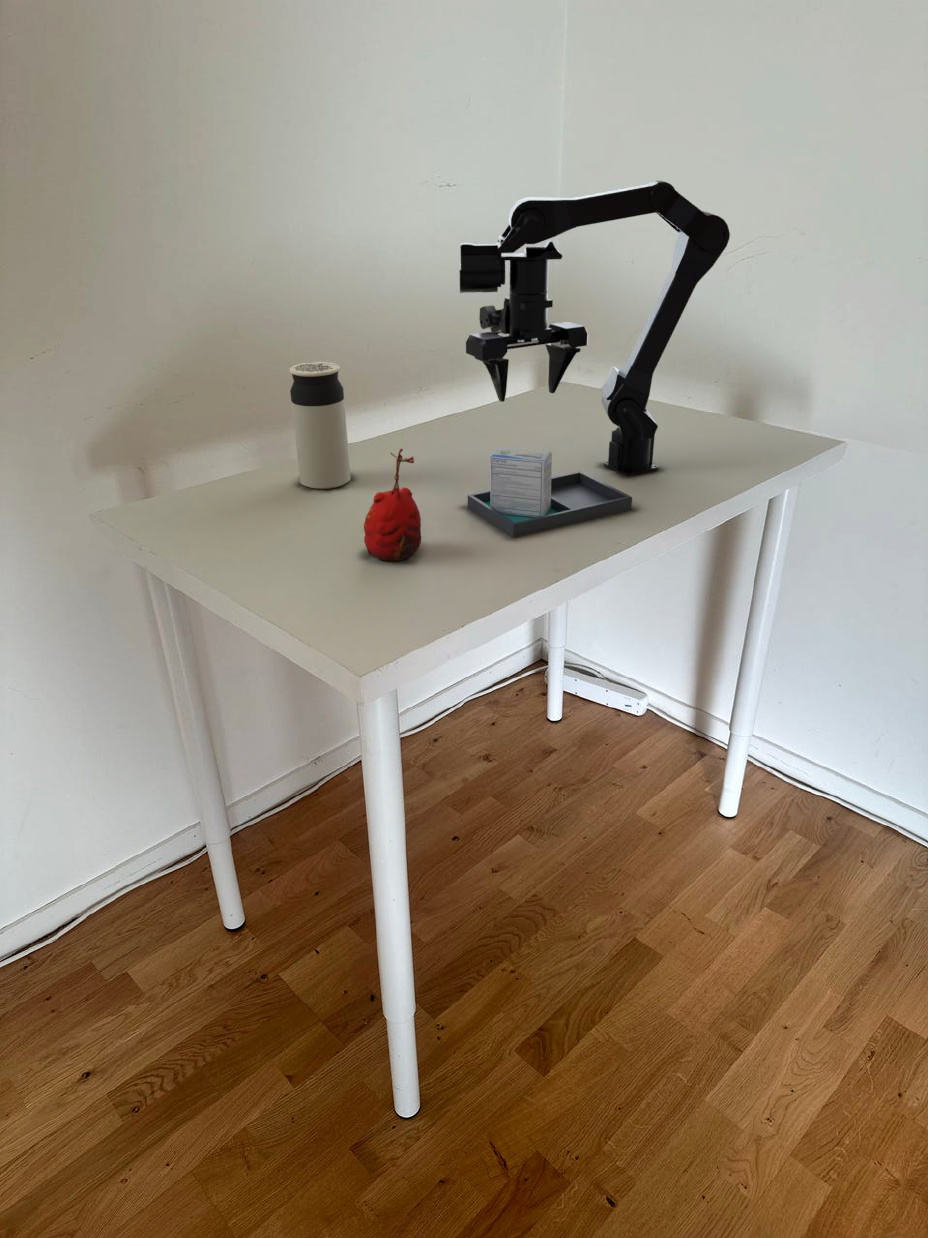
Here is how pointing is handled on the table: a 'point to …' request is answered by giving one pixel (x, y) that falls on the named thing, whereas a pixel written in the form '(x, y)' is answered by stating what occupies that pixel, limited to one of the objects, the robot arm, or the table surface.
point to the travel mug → (320, 425)
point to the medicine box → (521, 481)
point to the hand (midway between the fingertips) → (527, 396)
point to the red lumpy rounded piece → (393, 522)
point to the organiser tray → (558, 505)
